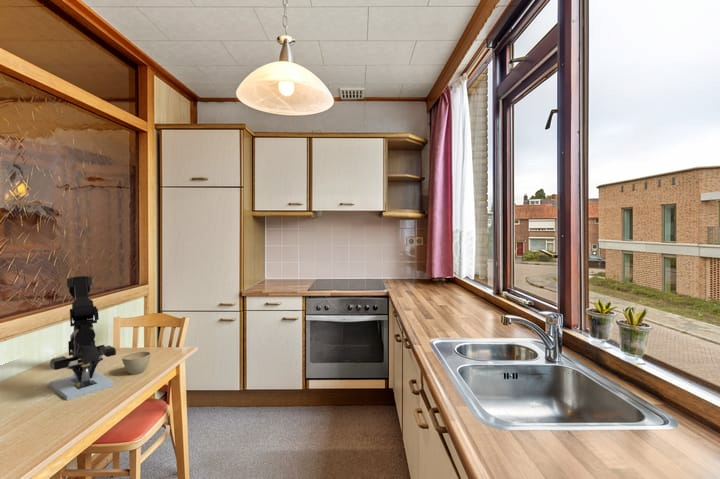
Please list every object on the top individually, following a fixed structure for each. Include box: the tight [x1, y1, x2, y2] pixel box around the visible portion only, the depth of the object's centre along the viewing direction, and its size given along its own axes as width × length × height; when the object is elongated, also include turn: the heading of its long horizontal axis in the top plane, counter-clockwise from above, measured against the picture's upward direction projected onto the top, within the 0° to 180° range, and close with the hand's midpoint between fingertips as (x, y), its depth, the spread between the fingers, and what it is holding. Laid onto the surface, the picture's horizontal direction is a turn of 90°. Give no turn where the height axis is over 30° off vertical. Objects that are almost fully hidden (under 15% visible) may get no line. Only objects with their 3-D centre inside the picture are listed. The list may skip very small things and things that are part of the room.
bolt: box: [78, 362, 92, 389], centre depth 132 cm, size 4×4×10 cm
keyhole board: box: [49, 370, 114, 401], centre depth 135 cm, size 20×14×2 cm
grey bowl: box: [121, 350, 151, 375], centre depth 148 cm, size 10×10×7 cm
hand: (85, 379), depth 133 cm, fingers closed on bolt, 3 cm apart
